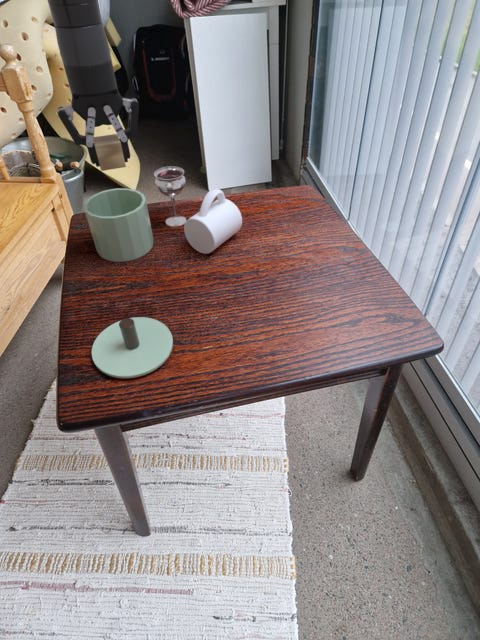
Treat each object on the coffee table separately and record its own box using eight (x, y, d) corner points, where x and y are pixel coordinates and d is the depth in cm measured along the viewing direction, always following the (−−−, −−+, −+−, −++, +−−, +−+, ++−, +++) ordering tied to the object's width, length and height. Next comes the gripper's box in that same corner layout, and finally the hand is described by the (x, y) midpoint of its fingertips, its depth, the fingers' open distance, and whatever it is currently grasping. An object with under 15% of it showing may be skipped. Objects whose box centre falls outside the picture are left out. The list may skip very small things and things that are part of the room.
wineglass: (157, 218, 102) (149, 170, 93) (183, 211, 104) (177, 163, 96) (168, 231, 97) (160, 182, 89) (194, 223, 100) (189, 175, 91)
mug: (185, 247, 93) (179, 197, 84) (214, 226, 99) (210, 177, 90) (215, 259, 89) (211, 208, 81) (243, 236, 95) (242, 187, 87)
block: (101, 171, 77) (94, 146, 74) (98, 161, 80) (92, 137, 77) (126, 167, 78) (120, 142, 75) (122, 157, 81) (117, 133, 78)
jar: (100, 267, 88) (86, 223, 81) (94, 236, 96) (81, 194, 89) (158, 254, 91) (150, 210, 84) (147, 226, 99) (139, 184, 92)
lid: (97, 391, 65) (87, 365, 61) (89, 332, 74) (79, 306, 70) (182, 367, 68) (177, 341, 64) (164, 314, 77) (159, 288, 73)
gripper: (39, 68, 63) (73, 177, 74) (135, 58, 66) (153, 164, 78) (39, 57, 68) (71, 161, 80) (128, 48, 71) (146, 149, 83)
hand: (111, 162), depth 79 cm, fingers closed on block, 4 cm apart
